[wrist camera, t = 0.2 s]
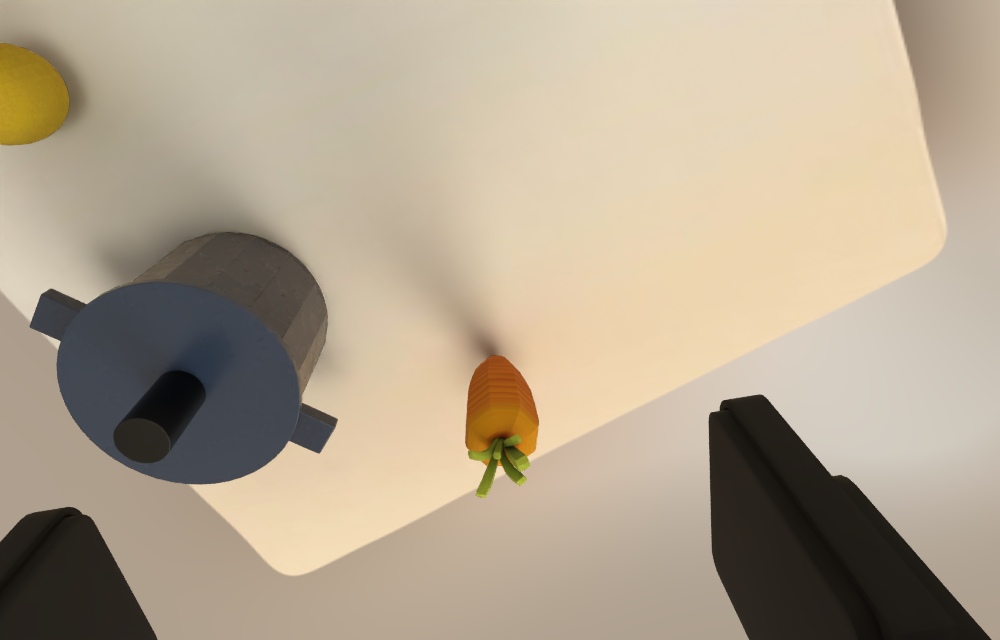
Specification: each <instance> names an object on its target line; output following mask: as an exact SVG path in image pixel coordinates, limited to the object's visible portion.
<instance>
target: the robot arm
mask: <svg viewBox="0 0 1000 640" xmlns="http://www.w3.org/2000/svg"><path fill="white" fill-rule="evenodd" d="M709 450H710V451H709V453H710V493H711V533H712V554H713V559H714V563H715V566H716V570H717V572H718V575H719V577H720V579H721V581H722V583H723V585H724V587H725V590H726V592H727V593H728V596H729V598H730V600H731V602H732V604H733V606H734V609H735V611H736V613H737V615H738V617H739V619H740V621H741V623H742V625H743V628H744V629H745V632H746V634H747V636H748V638H749V640H991V639H990V637H989V636H988V635H987V634H986V633H985V632H984V631H983V629H982V628H981V627H980V626H979V625H978V624H977V623H976V622H975V620H974V619H973V618H972V617H971V616H970V615H969V613H968V612H967V611H966V610H965V609H964V608H963V607H962V605H961V604H960V603H959V602H958V601H957V600H956V599H955V597H953V595H952V594H951V593H950V592H949V591H948V590H947V588H946V587H945V586H944V585H943V584H942V583H941V582H940V580H939V579H938V578H937V577H936V576H935V575H934V573H932V571H931V570H930V569H929V568H928V567H927V566H926V564H925V563H924V562H923V561H922V560H921V559H920V557H919V556H918V555H917V554H916V553H915V552H914V551H913V550H912V548H911V547H910V546H909V545H908V544H907V543H906V542H905V540H904V539H903V538H902V537H901V536H900V535H899V534H898V532H897V531H896V530H895V529H894V528H893V527H892V526H891V524H890V523H889V522H888V521H887V520H886V519H885V518H884V517H883V515H882V514H881V513H880V512H879V511H878V510H877V508H875V506H874V505H873V504H872V503H871V502H870V500H869V499H868V498H867V497H866V496H865V495H864V494H863V493H862V491H861V490H860V489H859V488H858V487H857V486H856V485H855V484H854V483H853V482H852V481H851V480H850V479H849V478H847V477H844V476H842V475H838V476H831V474H830V473H829V472H828V471H827V470H826V468H825V467H824V466H823V465H822V464H821V463H820V461H819V460H818V459H817V458H816V457H815V455H814V454H813V453H812V452H811V451H810V449H809V448H808V447H807V446H806V445H805V443H804V442H803V441H802V440H801V439H800V437H799V436H798V435H797V434H796V433H795V431H794V430H793V429H792V428H791V427H790V426H789V424H788V423H787V422H786V421H785V420H784V418H783V417H782V416H781V415H780V414H779V412H778V411H777V410H776V409H775V408H774V406H773V405H772V404H771V403H770V402H769V400H768V399H767V398H766V397H764V396H763V395H753V396H747V397H741V398H735V399H729V400H723V401H722V402H721V405H720V411H717V412H711V413H710V415H709ZM0 640H157V637H156V635H155V633H154V631H153V630H152V627H151V626H150V624H149V622H148V620H147V618H146V616H145V615H144V613H143V611H142V609H141V607H140V606H139V604H138V602H137V600H136V598H135V596H134V594H133V593H132V591H131V589H130V587H129V585H128V583H127V582H126V580H125V578H124V576H123V574H122V573H121V571H120V569H119V567H118V565H117V563H116V562H115V560H114V558H113V556H112V554H111V552H110V550H109V549H108V547H107V545H106V543H105V541H104V539H103V538H102V536H101V534H100V532H99V530H98V528H97V527H96V525H95V523H94V521H93V520H92V519H91V518H90V517H89V516H87V515H83V514H82V513H81V512H80V511H79V510H77V509H76V508H73V507H65V508H59V509H53V510H47V511H41V512H35V513H32V514H28V515H26V516H25V517H24V518H22V519H21V520H20V521H19V522H18V523H17V524H16V525H15V526H14V528H13V529H12V530H11V531H10V532H9V533H8V534H7V535H6V537H4V539H3V540H2V541H1V542H0Z"/></svg>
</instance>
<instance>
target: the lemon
mask: <svg viewBox="0 0 1000 640" xmlns="http://www.w3.org/2000/svg"><path fill="white" fill-rule="evenodd" d="M68 110H69V95H68V91H67V88H66V85H65V83H64V81H63V79H62V78H61V76H60V75H59V73H58V72H57V71H56V70H55V69H54V67H53V66H52V65H51V64H49V63H48V62H47V61H46V60H45V59H43V58H42V57H41V56H39V55H37V54H35V53H33V52H31V51H29V50H27V49H25V48H21V47H18V46H15V45H11V44H6V43H0V144H1V145H21V144H30V143H34V142H36V141H39V140H42V139H44V138H46V137H48V136H50V135H51V134H53V133H54V132H55V131H56V130H57V129H59V128H60V127H61V125H62V124H63V122H64V120H65V119H66V117H67V114H68Z"/></svg>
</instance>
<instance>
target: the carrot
mask: <svg viewBox="0 0 1000 640" xmlns="http://www.w3.org/2000/svg"><path fill="white" fill-rule="evenodd" d="M538 426H539V419H538V415H537V411H536V407H535V403H534V400H533V396H532V393H531V390H530V388H529V386H528V385H527V383H526V381H525V379H524V378H523V376H522V375H521V373H520V372H519V371H518V370H517V369H516V368H515V367H514V366H513V365H512V364H511V363H510V362H509V361H508V360H507V359H506V358H505V357H502V356H495V355H493V356H490V357H489V358H488V359H486V360H485V361H484V362H483V363H481V364H480V365H479V367H478V368H477V369H476V370H475V372H474V374H473V377H472V379H471V383H470V386H469V391H468V402H467V418H466V439H465V443H466V447H467V448H468V449H469V450H470V451H468V455H469V458H470V459H473V460H477V461H482V462H483V463H484V464H485V465H486V466H487V469H486V471H485V474H484V476H483V479H482V481H481V483H480V485H479V487H478V490H477V493H476V496H478V497H482V498H485V497H486V495H487V493H488V492H489V490H490V488H491V485H492V483H493V479H494V476H495V472H496V468H497V466H503V468H504V470H505V472H506V474H507V475H508V476H509V477H510V478H511V480H512V481H514V482H515V483H516V484H517V485H519V486H520V485H522V484H524V483H525V481H526V480H527V479H526V477H525V476H524V475H523V474H522V473H521V472H519V471H523V470H525V469H527V468H528V467H529V466H530V464H529V460H528V458H527V456H529V455H530V454H531V453H533V452H534V451H535V449H536V442H537V434H538ZM514 466H515V467H516V468H517V469H518V470H519V471H518V470H517V469H516V468H515V467H514Z"/></svg>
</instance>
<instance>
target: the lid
mask: <svg viewBox="0 0 1000 640" xmlns="http://www.w3.org/2000/svg"><path fill="white" fill-rule="evenodd" d="M57 377H58V383H59V387H60V392H61V394H62V397H63V399H64V402H65V405H66V407H67V409H68V410H69V412H70V414H71V416H72V418H73V419H74V420H75V422H76V423H77V425H78V426H79V427H80V429H81V430H82V431H83V432H84V433H85V434H86V436H87V437H88V438H89V439H90V440H91V441H92V442H93V443H95V444H96V445H97V446H98V447H99V448H100V449H101V450H102V451H104V452H105V453H107V454H108V455H109V456H111V457H112V458H113V459H115V460H117V461H118V462H120V463H122V464H124V465H125V466H127V467H129V468H131V469H134V470H136V471H138V472H140V473H142V474H145V475H148V476H151V477H154V478H157V479H162V480H166V481H170V482H176V483H184V484H215V483H221V482H227V481H231V480H234V479H238V478H241V477H244V476H246V475H248V474H251V473H253V472H255V471H257V470H258V469H260V468H262V467H263V466H265V465H266V464H268V463H269V462H270V461H271V460H273V459H274V458H275V457H276V456H277V455H278V454H279V453H280V452H281V451H282V450H283V449H284V447H285V446H286V444H287V443H288V441H289V440H290V438H291V436H292V434H293V432H294V430H295V428H296V425H297V423H298V419H299V416H300V412H301V406H302V385H301V379H300V374H299V371H298V368H297V365H296V362H295V360H294V358H293V356H292V354H291V352H290V350H289V348H288V346H287V345H286V343H285V342H284V340H283V339H282V337H281V336H280V334H279V333H278V332H277V331H276V330H275V329H274V328H273V327H272V325H271V324H270V323H269V322H268V321H267V320H265V319H264V318H263V317H262V316H261V315H260V314H259V313H258V312H256V311H255V310H254V309H252V308H251V307H249V306H248V305H247V304H245V303H244V302H242V301H240V300H238V299H236V298H235V297H233V296H231V295H229V294H227V293H225V292H222V291H220V290H218V289H215V288H213V287H209V286H206V285H203V284H199V283H195V282H190V281H184V280H176V279H146V280H141V281H135V282H130V283H127V284H124V285H121V286H118V287H115V288H113V289H111V290H109V291H107V292H105V293H103V294H101V295H100V296H98V297H97V298H95V299H94V300H93V301H91V302H90V303H88V304H87V305H86V306H85V307H84V308H83V309H82V310H80V311H79V312H78V313H77V314H76V315H75V317H74V318H73V320H72V321H71V322H70V324H69V325H68V326H67V329H66V331H65V333H64V335H63V337H62V339H61V343H60V346H59V350H58V356H57Z"/></svg>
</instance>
